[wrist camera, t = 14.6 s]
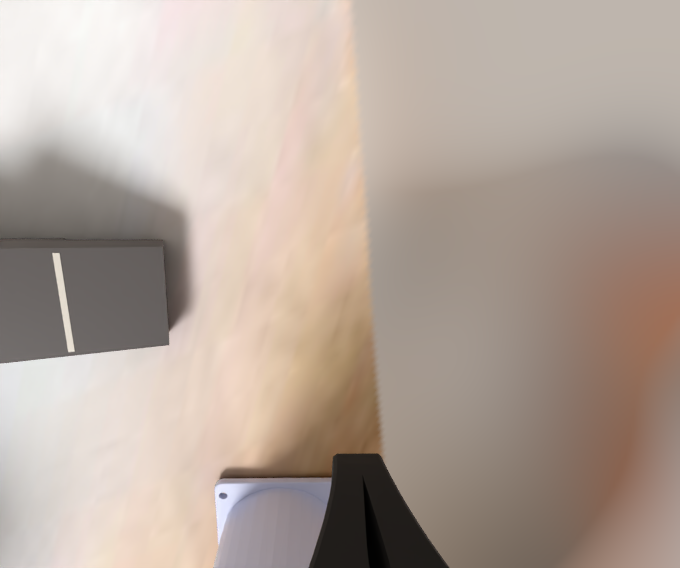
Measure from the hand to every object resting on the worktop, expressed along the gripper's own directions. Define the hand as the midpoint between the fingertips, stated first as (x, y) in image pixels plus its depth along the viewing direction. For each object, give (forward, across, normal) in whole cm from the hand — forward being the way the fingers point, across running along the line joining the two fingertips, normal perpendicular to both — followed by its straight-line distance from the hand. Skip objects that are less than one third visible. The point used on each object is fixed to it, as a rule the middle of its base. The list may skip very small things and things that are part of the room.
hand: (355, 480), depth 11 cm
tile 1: (+9, +9, -2) cm, 13 cm away
